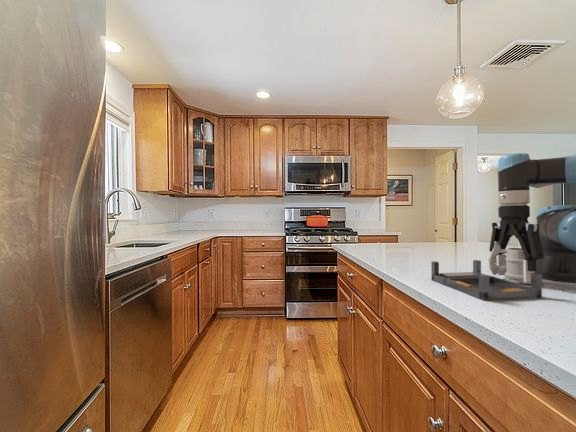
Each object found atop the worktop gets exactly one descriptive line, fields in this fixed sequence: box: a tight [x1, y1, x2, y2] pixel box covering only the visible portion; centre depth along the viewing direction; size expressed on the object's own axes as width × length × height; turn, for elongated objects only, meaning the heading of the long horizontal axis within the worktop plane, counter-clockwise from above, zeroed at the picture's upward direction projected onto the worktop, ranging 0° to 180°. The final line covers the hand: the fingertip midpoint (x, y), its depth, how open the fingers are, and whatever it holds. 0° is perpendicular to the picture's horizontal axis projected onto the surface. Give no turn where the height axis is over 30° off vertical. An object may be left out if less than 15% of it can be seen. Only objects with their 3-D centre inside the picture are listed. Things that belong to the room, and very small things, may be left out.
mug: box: [488, 241, 535, 285], centre depth 87 cm, size 8×12×12 cm, turn 52°
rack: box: [430, 259, 543, 302], centre depth 80 cm, size 16×21×6 cm
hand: (514, 278), depth 86 cm, fingers closed on mug, 9 cm apart
